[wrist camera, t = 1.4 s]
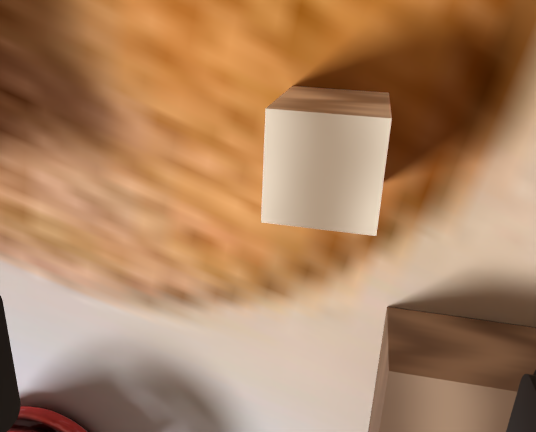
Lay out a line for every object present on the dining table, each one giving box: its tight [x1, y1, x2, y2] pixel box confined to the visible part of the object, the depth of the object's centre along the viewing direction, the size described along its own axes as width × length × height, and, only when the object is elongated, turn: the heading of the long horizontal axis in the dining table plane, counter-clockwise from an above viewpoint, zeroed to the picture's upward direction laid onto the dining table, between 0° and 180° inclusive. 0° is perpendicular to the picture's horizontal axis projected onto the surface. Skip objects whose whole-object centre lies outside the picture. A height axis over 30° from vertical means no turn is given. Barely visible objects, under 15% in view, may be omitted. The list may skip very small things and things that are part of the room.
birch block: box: [261, 86, 392, 236], centre depth 24 cm, size 5×5×7 cm
